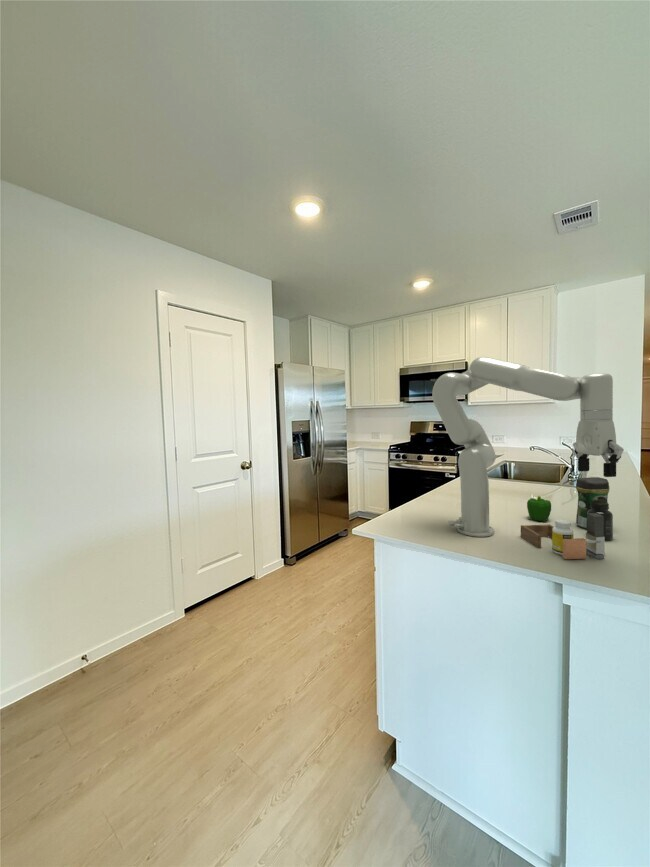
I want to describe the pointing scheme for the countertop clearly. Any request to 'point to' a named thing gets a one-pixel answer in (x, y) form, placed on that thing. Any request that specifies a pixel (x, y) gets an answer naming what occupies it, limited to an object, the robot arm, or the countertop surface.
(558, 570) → the countertop surface
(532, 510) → the bell pepper
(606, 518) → the supplement bottle
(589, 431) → the robot arm
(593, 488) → the coffee jar
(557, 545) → the supplement bottle
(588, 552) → the rail
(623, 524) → the countertop surface
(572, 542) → the carriage
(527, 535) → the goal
